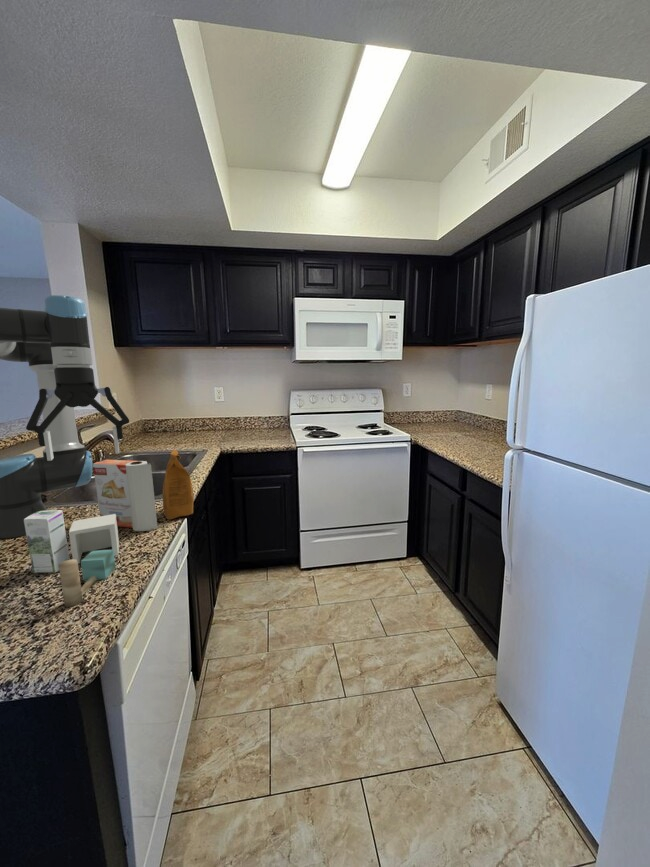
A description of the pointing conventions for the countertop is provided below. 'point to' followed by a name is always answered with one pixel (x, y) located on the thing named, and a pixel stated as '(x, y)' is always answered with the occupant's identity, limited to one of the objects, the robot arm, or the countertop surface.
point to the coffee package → (177, 489)
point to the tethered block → (84, 574)
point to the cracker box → (113, 490)
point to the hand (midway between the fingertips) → (85, 456)
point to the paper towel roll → (141, 496)
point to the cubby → (94, 535)
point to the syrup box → (46, 540)
